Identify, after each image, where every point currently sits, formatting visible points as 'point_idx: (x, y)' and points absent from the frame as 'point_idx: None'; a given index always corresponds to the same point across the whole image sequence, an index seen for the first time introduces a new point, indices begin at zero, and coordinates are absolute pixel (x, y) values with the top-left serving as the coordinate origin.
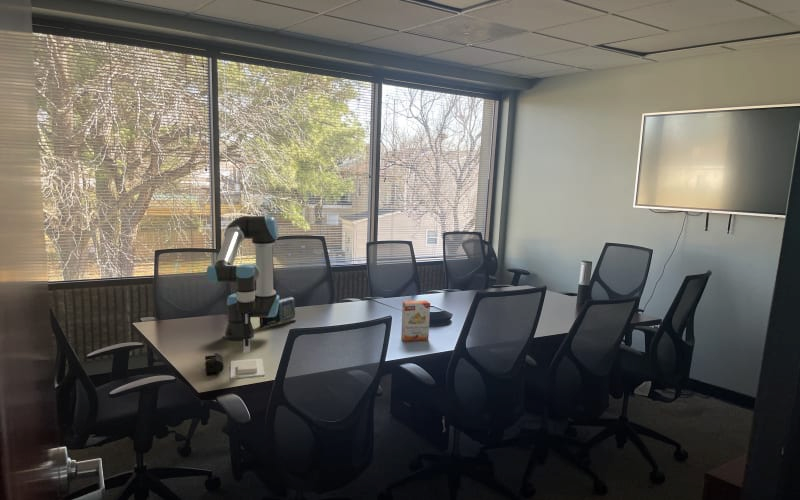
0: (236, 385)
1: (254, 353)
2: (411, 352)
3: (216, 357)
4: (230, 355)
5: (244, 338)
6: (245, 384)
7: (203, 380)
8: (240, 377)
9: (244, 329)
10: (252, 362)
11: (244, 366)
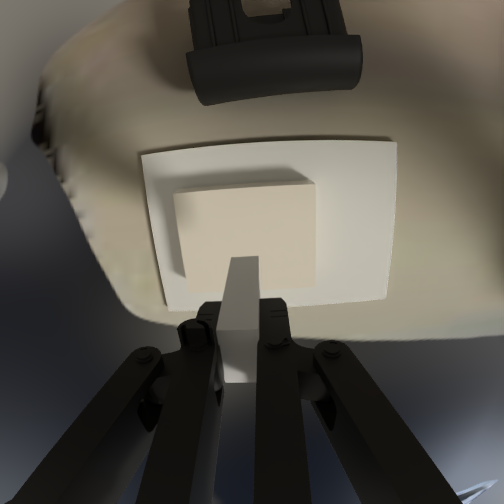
0: (76, 195)
1: (465, 257)
2: None
3: (259, 47)
4: (475, 147)
5: (133, 357)
6: (85, 232)
7: (151, 28)
8: (148, 204)
9: (61, 449)
10: (284, 269)
11: (225, 228)
